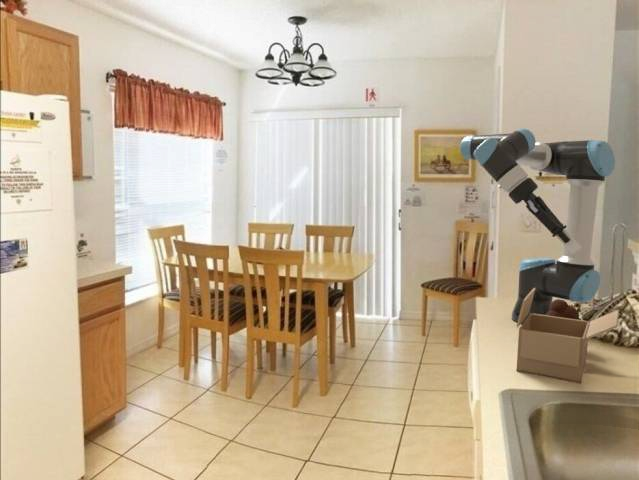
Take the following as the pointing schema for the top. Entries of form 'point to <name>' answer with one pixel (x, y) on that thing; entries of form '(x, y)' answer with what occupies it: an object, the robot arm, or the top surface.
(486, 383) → the top surface
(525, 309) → the carton flap
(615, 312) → the carton flap
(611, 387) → the top surface
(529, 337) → the carton
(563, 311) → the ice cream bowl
